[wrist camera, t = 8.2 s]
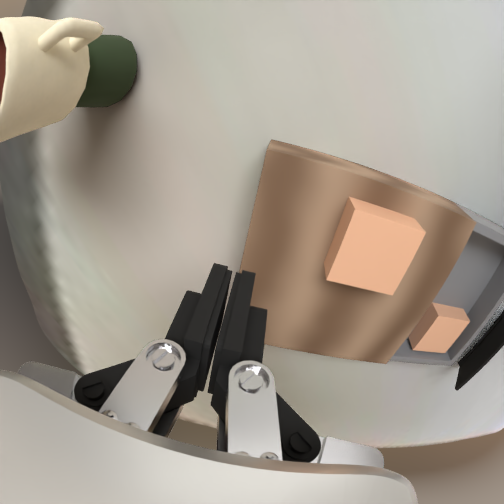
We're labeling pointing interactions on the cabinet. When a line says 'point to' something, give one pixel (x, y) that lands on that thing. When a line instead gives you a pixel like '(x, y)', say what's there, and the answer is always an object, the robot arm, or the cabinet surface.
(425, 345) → the tile
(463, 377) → the black sloped piece
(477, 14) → the cabinet surface
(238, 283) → the robot arm
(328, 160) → the board
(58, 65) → the character mug
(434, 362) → the box
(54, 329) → the cabinet surface
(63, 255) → the cabinet surface
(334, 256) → the tile
